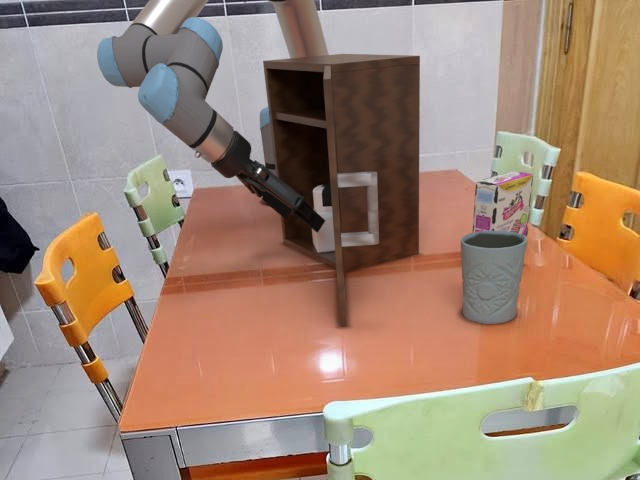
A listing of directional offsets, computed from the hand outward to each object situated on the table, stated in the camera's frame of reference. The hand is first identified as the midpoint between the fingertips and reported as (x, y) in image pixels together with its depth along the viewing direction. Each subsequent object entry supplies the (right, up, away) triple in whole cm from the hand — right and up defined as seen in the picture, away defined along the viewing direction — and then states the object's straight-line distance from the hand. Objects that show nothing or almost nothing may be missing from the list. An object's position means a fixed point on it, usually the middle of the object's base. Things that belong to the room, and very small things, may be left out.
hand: (304, 219), depth 130 cm
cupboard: (+9, -3, +9) cm, 13 cm away
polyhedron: (+44, -3, +6) cm, 44 cm away
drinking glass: (+32, -25, -24) cm, 48 cm away
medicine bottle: (+5, -3, +6) cm, 9 cm away
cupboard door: (+11, -20, -15) cm, 27 cm away
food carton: (+37, -13, -7) cm, 40 cm away
